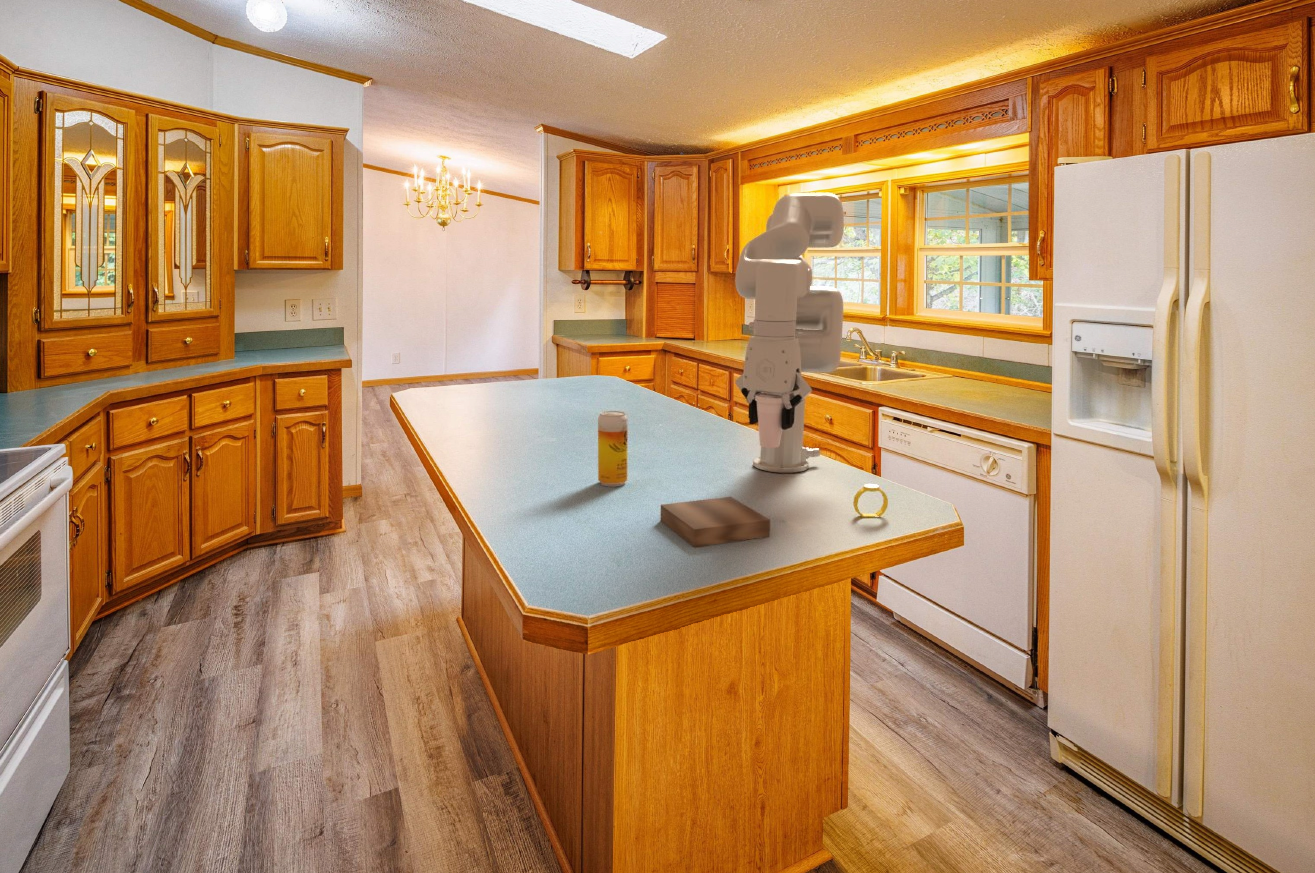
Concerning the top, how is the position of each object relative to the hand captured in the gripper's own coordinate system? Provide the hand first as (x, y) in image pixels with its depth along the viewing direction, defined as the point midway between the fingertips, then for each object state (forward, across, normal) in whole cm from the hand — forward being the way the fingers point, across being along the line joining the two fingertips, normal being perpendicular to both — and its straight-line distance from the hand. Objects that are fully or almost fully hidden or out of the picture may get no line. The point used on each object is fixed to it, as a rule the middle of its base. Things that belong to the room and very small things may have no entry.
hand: (770, 424), depth 138 cm
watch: (+16, +19, +4) cm, 25 cm away
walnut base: (+15, 0, -20) cm, 24 cm away
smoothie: (+4, 0, 0) cm, 4 cm away
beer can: (+16, -32, -9) cm, 37 cm away
